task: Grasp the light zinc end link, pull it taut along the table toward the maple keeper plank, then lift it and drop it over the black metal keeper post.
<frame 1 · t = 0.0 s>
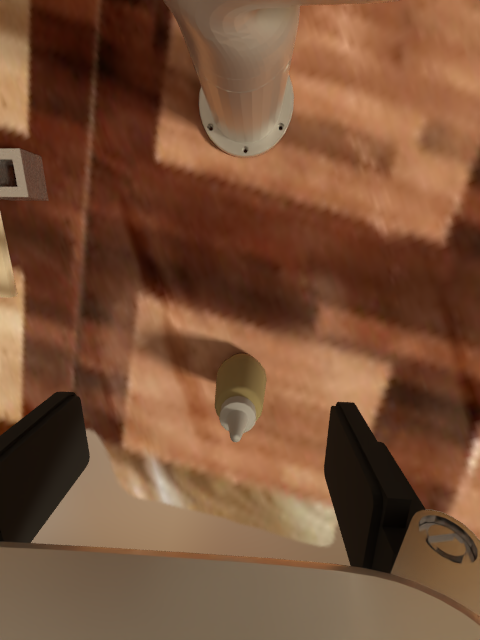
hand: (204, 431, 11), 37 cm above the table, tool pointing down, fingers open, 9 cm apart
squeeze bottle: (242, 368, 50), on the table
link: (25, 178, 43), on the table
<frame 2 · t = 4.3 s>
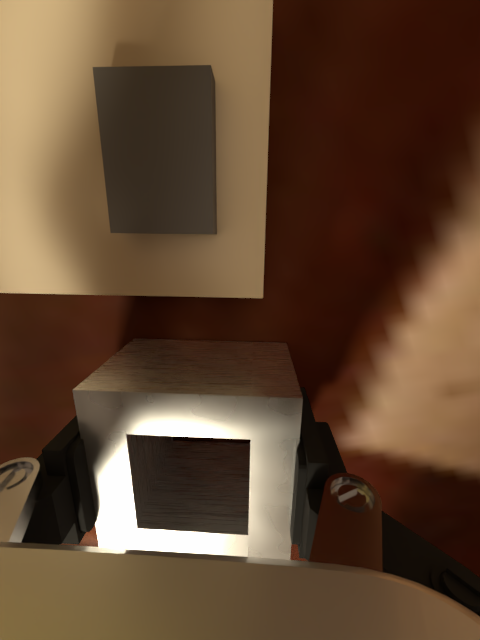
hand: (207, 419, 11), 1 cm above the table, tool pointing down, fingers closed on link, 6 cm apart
link: (210, 407, 12), on the table, touching gripper
when the fingers open (4 cm above the table, at t = 10.9 s): link drops 2 cm, resting on keeper.
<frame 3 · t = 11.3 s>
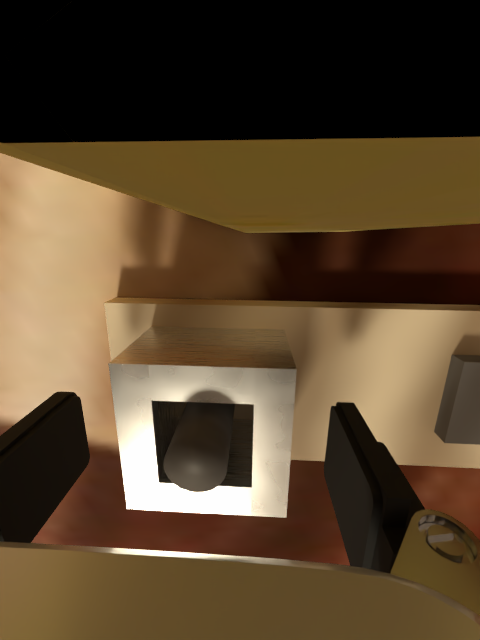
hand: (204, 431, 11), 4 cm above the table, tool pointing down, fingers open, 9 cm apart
link: (217, 387, 14), point 1 cm above the table, touching keeper
keeper: (316, 378, 15), on the table
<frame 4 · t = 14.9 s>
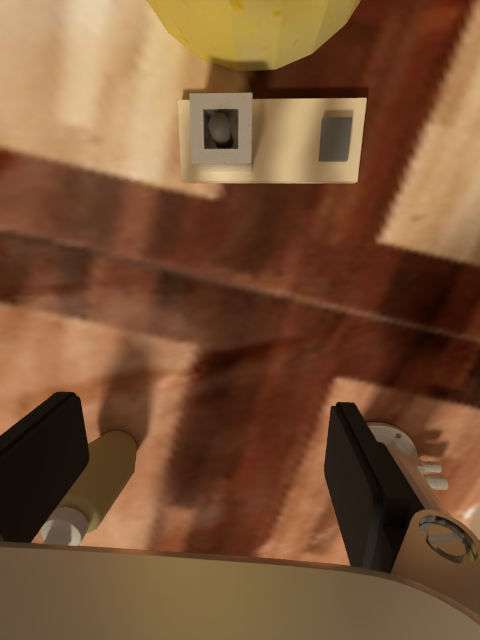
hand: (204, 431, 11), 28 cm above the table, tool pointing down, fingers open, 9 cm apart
squeeze bottle: (119, 444, 46), on the table
link: (225, 142, 32), point 1 cm above the table, touching keeper
keeper: (269, 144, 33), on the table
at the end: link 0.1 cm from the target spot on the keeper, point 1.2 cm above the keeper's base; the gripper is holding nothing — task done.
